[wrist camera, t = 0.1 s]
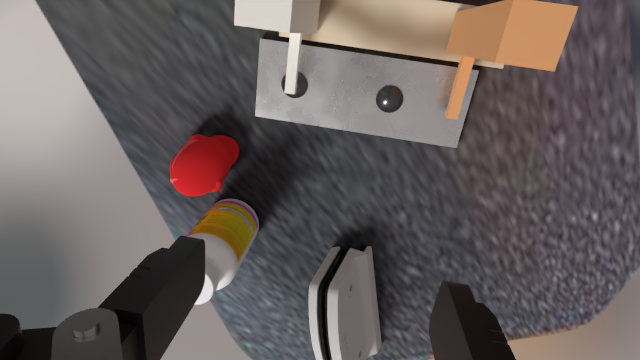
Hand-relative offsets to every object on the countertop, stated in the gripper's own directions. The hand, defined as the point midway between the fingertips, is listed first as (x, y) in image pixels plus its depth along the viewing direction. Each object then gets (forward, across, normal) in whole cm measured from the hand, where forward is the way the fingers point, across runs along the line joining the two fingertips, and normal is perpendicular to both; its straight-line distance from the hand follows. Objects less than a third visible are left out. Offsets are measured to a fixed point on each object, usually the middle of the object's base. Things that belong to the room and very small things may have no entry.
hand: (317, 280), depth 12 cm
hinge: (+30, -4, +25) cm, 39 cm away
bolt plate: (+29, -1, -2) cm, 29 cm away
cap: (+30, +15, +8) cm, 34 cm away
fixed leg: (+28, +6, -6) cm, 29 cm away
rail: (+29, -3, -9) cm, 31 cm away
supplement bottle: (+29, +12, +16) cm, 36 cm away
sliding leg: (+28, -10, -6) cm, 30 cm away
